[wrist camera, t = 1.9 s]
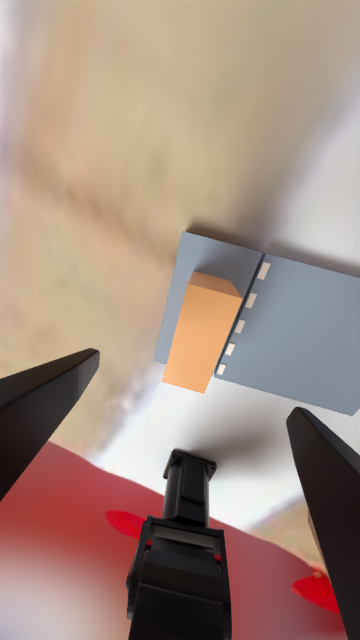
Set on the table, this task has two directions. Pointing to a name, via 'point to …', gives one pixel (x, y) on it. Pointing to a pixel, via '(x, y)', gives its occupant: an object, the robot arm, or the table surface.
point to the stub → (202, 307)
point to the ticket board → (297, 335)
